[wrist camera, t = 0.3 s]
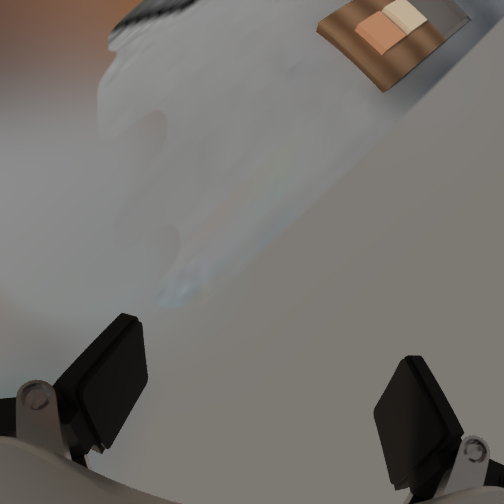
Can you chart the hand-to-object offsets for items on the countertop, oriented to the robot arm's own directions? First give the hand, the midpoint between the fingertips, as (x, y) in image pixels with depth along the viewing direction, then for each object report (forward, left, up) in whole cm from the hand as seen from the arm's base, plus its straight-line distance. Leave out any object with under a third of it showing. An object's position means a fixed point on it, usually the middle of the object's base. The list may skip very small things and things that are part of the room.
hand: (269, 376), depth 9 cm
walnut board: (-30, +15, -30) cm, 45 cm away
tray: (-40, +25, -30) cm, 56 cm away
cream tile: (-33, +18, -27) cm, 46 cm away
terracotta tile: (-28, +13, -27) cm, 41 cm away
